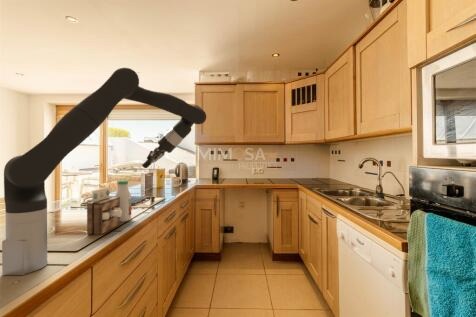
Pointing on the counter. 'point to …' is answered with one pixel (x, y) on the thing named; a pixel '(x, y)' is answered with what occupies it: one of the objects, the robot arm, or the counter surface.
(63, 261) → the counter surface
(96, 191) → the card
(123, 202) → the milk bottle
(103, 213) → the left button
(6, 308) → the counter surface
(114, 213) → the middle button
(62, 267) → the counter surface
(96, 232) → the brown wooden box
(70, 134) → the robot arm
